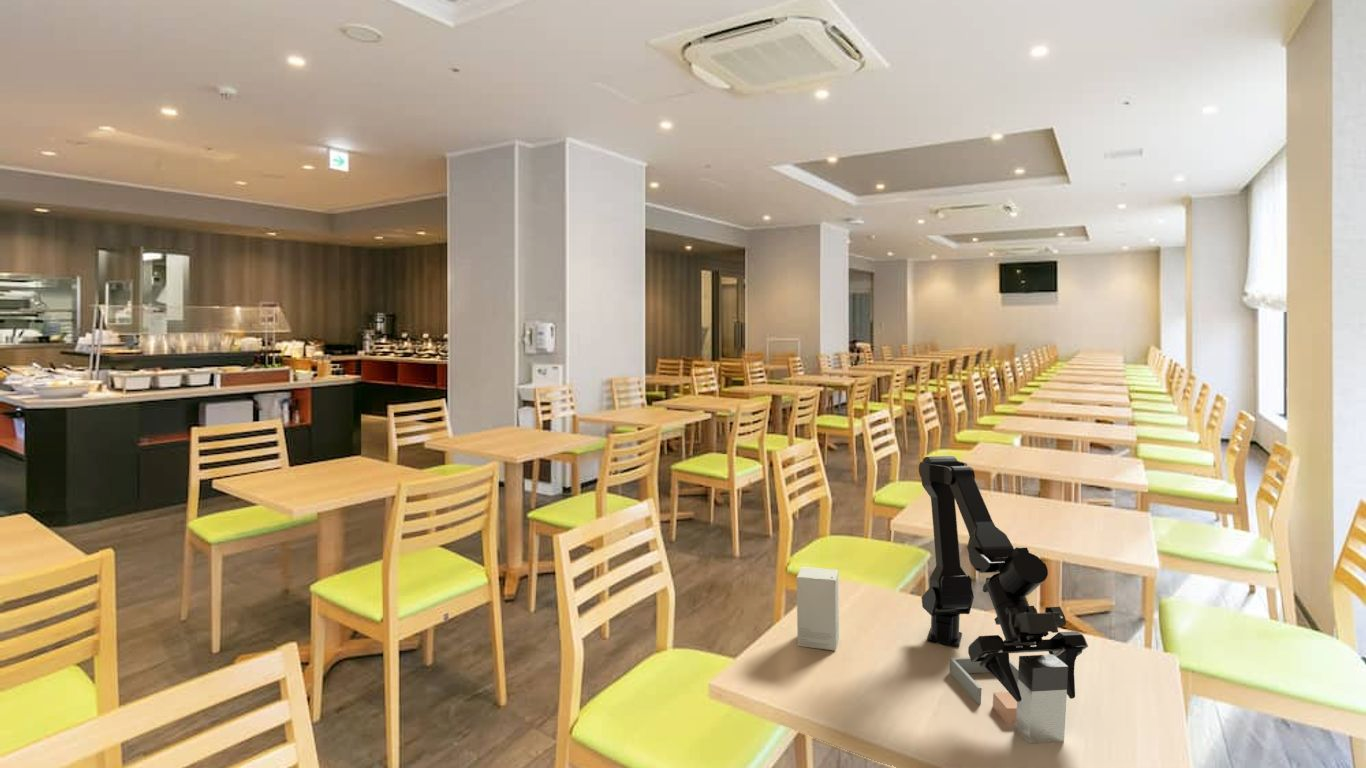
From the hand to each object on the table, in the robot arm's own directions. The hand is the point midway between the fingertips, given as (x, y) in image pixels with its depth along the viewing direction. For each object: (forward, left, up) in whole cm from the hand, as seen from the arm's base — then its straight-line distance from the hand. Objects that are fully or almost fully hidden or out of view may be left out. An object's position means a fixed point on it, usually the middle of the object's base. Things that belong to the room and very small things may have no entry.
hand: (1046, 699), depth 115 cm
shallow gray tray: (-14, -9, -7) cm, 18 cm away
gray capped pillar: (-1, -1, -7) cm, 7 cm away
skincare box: (-16, -43, -7) cm, 47 cm away
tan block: (-6, -4, -7) cm, 10 cm away
